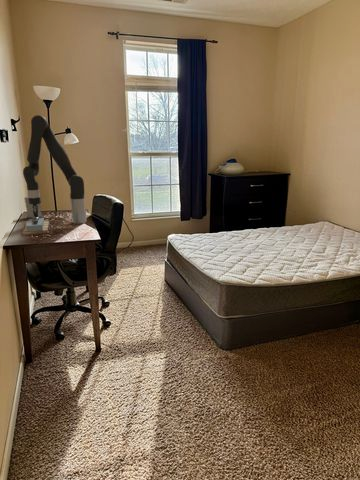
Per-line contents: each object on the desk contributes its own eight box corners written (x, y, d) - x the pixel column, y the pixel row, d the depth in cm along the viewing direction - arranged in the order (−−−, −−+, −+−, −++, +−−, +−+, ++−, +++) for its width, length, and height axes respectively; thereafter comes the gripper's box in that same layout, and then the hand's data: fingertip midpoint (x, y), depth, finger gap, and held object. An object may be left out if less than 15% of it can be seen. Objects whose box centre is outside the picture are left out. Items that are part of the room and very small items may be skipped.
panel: (29, 224, 217) (29, 219, 216) (44, 223, 220) (43, 218, 219) (26, 231, 198) (26, 226, 197) (42, 230, 201) (42, 224, 200)
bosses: (34, 224, 217) (33, 217, 215) (39, 224, 218) (39, 216, 216) (32, 228, 206) (31, 220, 205) (38, 228, 207) (37, 220, 206)
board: (27, 223, 225) (27, 221, 224) (48, 222, 229) (48, 220, 229) (22, 234, 197) (22, 232, 197) (47, 232, 202) (47, 230, 202)
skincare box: (42, 216, 247) (39, 196, 243) (34, 218, 241) (32, 197, 236) (34, 215, 251) (31, 195, 246) (26, 217, 244) (23, 196, 240)
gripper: (28, 195, 220) (32, 220, 225) (26, 198, 208) (30, 224, 213) (40, 194, 222) (43, 219, 227) (39, 197, 210) (42, 223, 215)
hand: (37, 221), depth 220 cm, fingers closed
